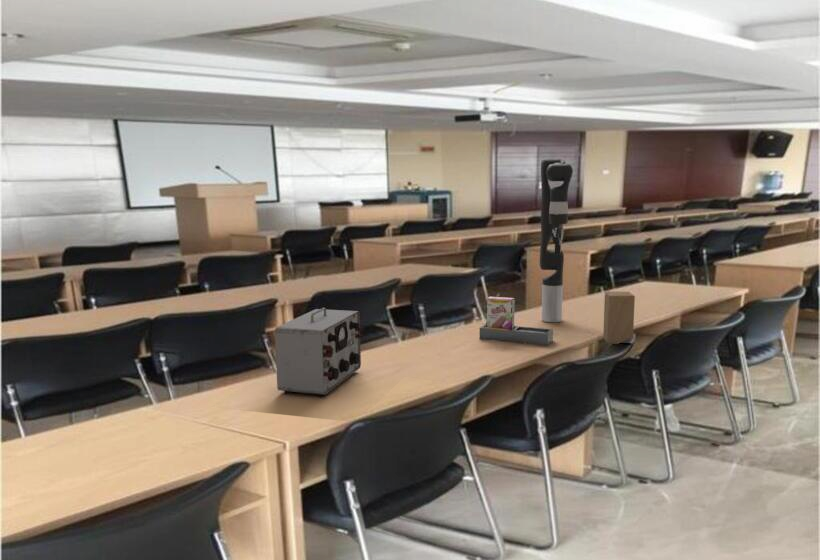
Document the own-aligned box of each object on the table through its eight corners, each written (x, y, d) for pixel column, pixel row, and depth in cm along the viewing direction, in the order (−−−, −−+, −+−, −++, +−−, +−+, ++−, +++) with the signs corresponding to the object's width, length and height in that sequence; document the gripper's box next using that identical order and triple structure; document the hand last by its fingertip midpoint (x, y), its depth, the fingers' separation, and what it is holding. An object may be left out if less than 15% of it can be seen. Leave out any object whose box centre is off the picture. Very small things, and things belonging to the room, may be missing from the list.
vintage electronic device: (330, 400, 207) (327, 322, 203) (277, 395, 212) (274, 318, 208) (366, 371, 237) (364, 302, 233) (319, 367, 242) (317, 300, 238)
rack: (486, 334, 288) (486, 322, 287) (552, 341, 275) (553, 328, 274) (479, 339, 280) (479, 326, 279) (547, 345, 268) (548, 333, 267)
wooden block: (627, 338, 278) (629, 291, 275) (633, 344, 268) (635, 295, 265) (603, 338, 279) (604, 291, 276) (607, 344, 269) (609, 295, 266)
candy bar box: (485, 336, 280) (485, 298, 278) (488, 333, 285) (488, 296, 282) (511, 338, 276) (512, 299, 274) (514, 335, 281) (514, 297, 278)
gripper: (553, 211, 286) (552, 251, 288) (545, 213, 274) (544, 255, 276) (570, 211, 282) (569, 252, 285) (564, 213, 271) (563, 255, 273)
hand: (557, 253), depth 281 cm, fingers closed
